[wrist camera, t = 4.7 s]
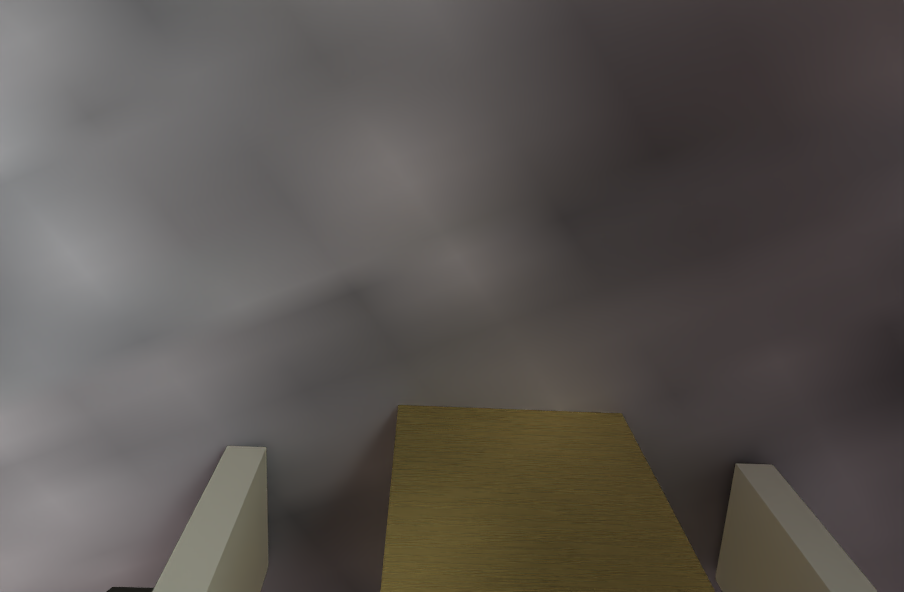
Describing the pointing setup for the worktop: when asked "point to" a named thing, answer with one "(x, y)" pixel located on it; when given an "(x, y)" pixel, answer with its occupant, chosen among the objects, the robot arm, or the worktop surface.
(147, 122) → the worktop surface
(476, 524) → the block
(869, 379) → the worktop surface
